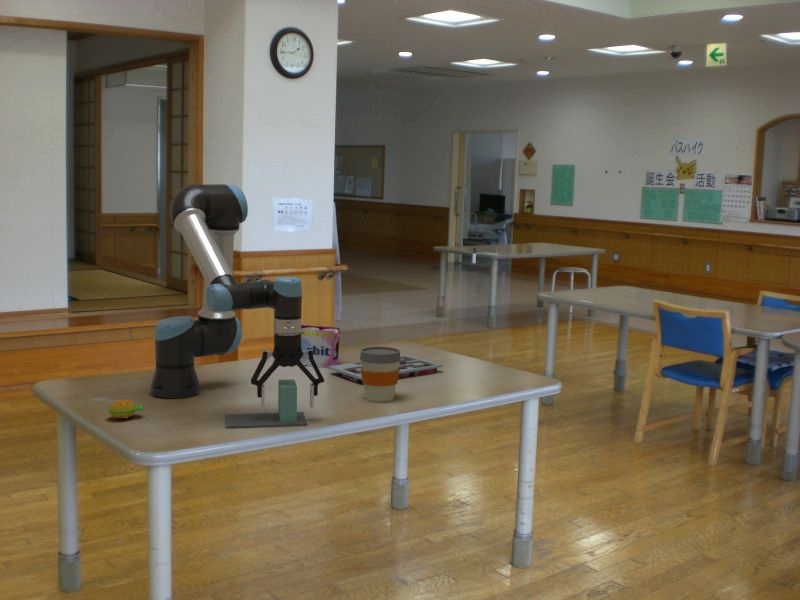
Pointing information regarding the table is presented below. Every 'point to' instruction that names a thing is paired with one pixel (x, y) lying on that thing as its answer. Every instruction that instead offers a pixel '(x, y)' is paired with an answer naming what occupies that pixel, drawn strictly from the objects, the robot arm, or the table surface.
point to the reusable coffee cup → (380, 372)
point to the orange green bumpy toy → (124, 408)
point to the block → (287, 401)
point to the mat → (261, 420)
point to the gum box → (320, 345)
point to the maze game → (406, 366)
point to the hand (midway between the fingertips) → (287, 408)
